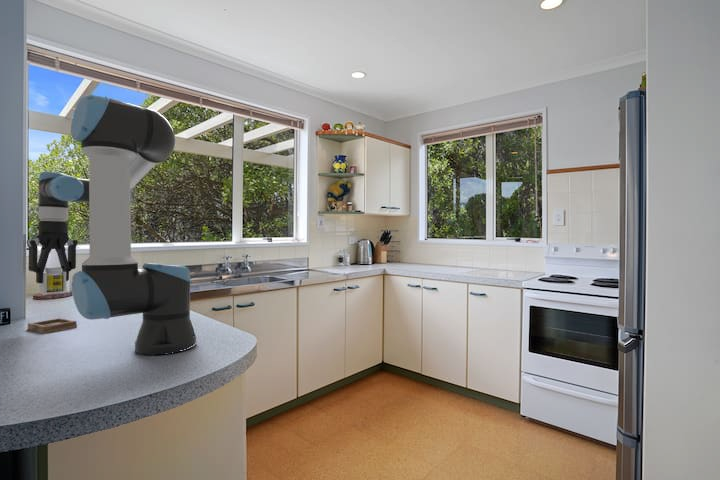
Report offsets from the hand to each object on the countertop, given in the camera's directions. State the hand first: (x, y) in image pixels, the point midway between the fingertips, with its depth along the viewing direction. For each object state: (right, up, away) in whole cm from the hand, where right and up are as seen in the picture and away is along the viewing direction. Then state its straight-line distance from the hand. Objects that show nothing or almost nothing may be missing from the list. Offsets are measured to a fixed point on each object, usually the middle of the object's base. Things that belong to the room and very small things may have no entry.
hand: (52, 292), depth 123 cm
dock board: (0, -12, 0) cm, 12 cm away
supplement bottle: (0, -1, 0) cm, 1 cm away
